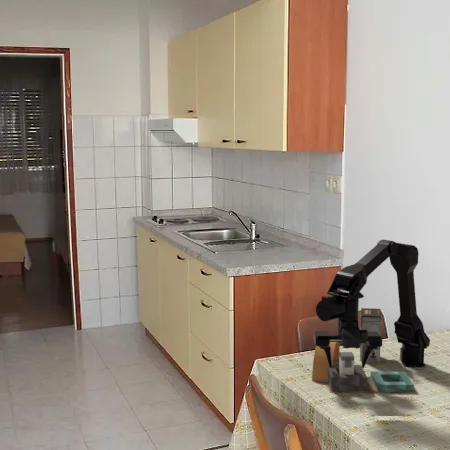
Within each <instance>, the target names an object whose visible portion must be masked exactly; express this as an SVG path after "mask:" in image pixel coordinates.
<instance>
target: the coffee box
mask: <svg viewBox="0 0 450 450" xmlns="http://www.w3.org/2000/svg"><path fill="white" fill-rule="evenodd" d="M359 325H360V327H359V330H367V331H377V332H378V333H379V334H380V336H381V337H382V309H381V308H369V307H368V308H367V307H365V308H364V307H361V308H360V324H359ZM362 351H363V343H361V345H360V348H359V361H360V362H362ZM380 359H381V347H377V349H374V350H373V351H371V353H370V355H369V357H368V359H367V361H366V362H371V363H380V361H381V360H380Z"/></svg>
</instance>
